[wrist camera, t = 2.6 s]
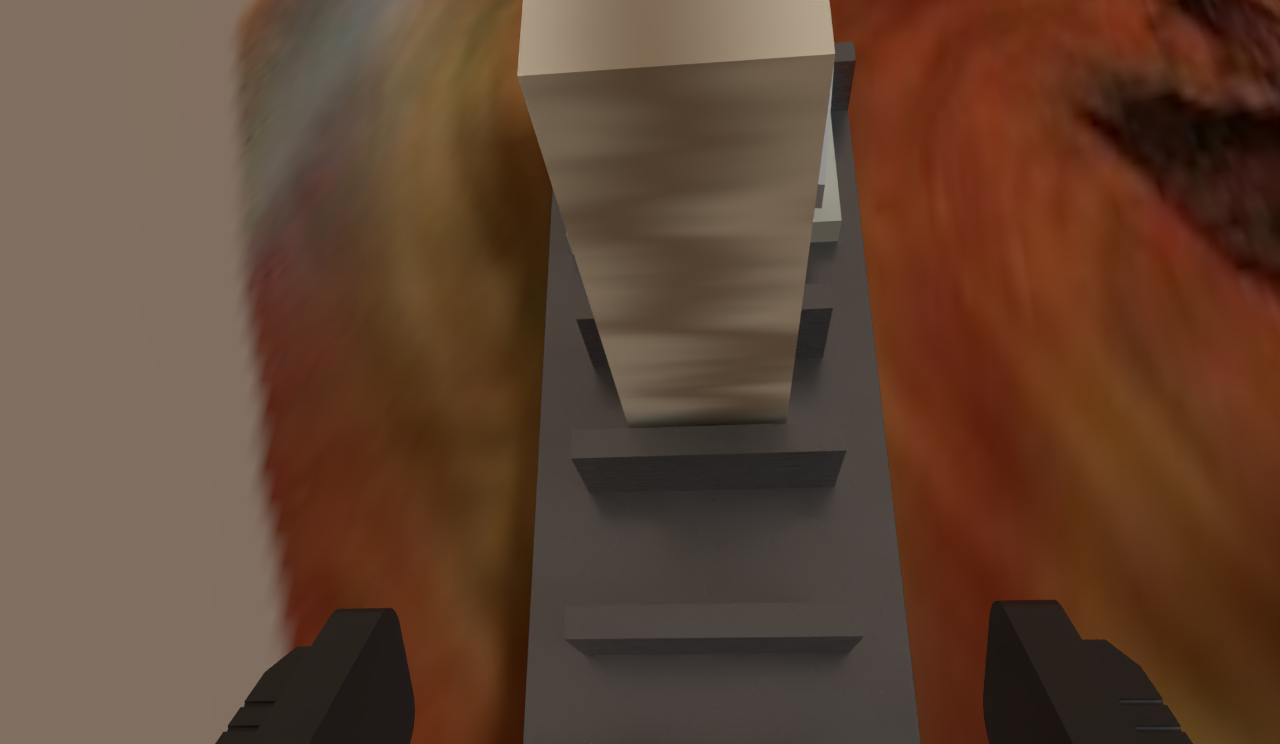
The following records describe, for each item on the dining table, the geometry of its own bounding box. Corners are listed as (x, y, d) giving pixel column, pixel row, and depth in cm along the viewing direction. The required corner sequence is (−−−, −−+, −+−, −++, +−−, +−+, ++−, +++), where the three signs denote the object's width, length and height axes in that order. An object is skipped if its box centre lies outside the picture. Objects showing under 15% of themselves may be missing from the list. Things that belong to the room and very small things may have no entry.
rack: (842, 114, 41) (856, 23, 36) (928, 891, 28) (969, 915, 23) (562, 132, 42) (538, 46, 37) (525, 885, 30) (482, 907, 25)
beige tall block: (778, 373, 35) (821, -72, 16) (783, 446, 33) (834, 54, 15) (636, 378, 35) (526, -47, 17) (636, 450, 34) (517, 75, 16)
